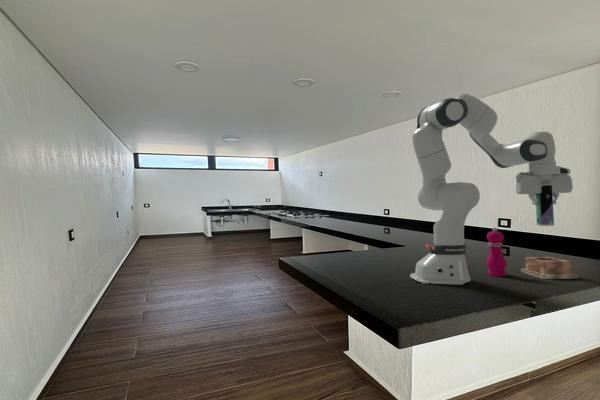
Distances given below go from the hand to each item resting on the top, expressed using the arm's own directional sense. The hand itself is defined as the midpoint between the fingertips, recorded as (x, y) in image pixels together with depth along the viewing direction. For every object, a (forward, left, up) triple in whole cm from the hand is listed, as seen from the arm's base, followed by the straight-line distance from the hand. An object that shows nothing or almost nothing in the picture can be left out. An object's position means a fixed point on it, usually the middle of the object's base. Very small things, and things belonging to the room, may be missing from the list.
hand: (544, 204), depth 122 cm
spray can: (0, 0, -9) cm, 9 cm away
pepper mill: (-19, +2, -29) cm, 35 cm away
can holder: (0, 0, -29) cm, 29 cm away
